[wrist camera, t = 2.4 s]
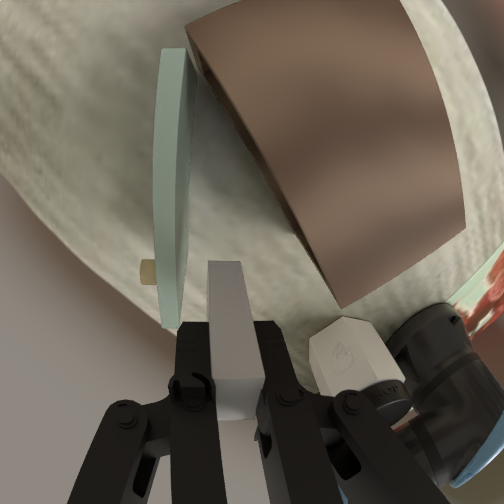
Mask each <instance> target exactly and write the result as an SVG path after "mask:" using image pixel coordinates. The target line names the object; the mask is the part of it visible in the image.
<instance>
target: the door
mask: <svg viewBox="0 0 504 504" xmlns="http://www.w3.org/2000/svg"><path fill="white" fill-rule="evenodd" d="M196 83H197V74H196V71H195V69H194V66H193V64H192V61H191V59H190V57H189V54H188V52H187V49H186V48H162V49H161V56H160V64H159V73H158V82H157V92H156V104H155V119H154V137H153V180H152V188H153V231H154V250H155V260H150V259H142V261H141V265H140V280H141V284H145V285H157V289H158V299H159V308H160V317H161V325H162V328H171V329H179V326H180V316H181V306H182V296H183V287H184V279H185V271H186V263H187V255H188V204H189V177H190V157H191V141H192V127H193V115H194V103H195V93H196Z"/></svg>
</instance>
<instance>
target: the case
mask: <svg viewBox="0 0 504 504" xmlns="http://www.w3.org/2000/svg"><path fill="white" fill-rule="evenodd" d="M184 27H185V30H186V33H187V36H188V39H189V42H190V45H191V48H192V52H193V55H194V58H195V61H196V64H197V66H198V68H199V70H200V71H201V73H202V74H203V76H204V77H205V79H206V80H207V82H208V84H209V85H210V87H211V88H212V90H213V92H214V93H215V95H216V96H217V98H218V100H219V101H220V103H221V104H222V106H223V108H224V109H225V111H226V113H227V114H228V116H229V118H230V119H231V121H232V123H233V124H234V126H235V128H236V129H237V131H238V133H239V134H240V136H241V138H242V139H243V141H244V143H245V144H246V146H247V148H248V150H249V151H250V153H251V155H252V157H253V158H254V160H255V162H256V163H257V165H258V167H259V169H260V171H261V172H262V174H263V176H264V178H265V179H266V181H267V183H268V185H269V187H270V188H271V190H272V192H273V194H274V196H275V197H276V199H277V201H278V203H279V205H280V207H281V208H282V210H283V212H284V214H285V216H286V218H287V220H288V221H289V223H290V225H291V227H292V229H293V231H294V233H295V235H296V236H297V238H298V239H299V241H300V243H301V244H302V246H303V247H304V249H305V251H306V252H307V254H308V255H309V257H310V259H311V260H312V262H313V263H314V265H315V267H316V268H317V270H318V271H319V273H320V275H321V276H322V278H323V280H324V281H325V283H326V285H327V286H328V288H329V289H330V291H331V293H332V294H333V296H334V298H335V300H336V301H337V303H338V305H339V306H340V308H341V309H342V308H344V307H346V306H348V305H349V304H351V303H353V302H355V301H356V300H358V299H360V298H362V297H363V296H365V295H367V294H368V293H370V292H372V291H373V290H375V289H377V288H378V287H380V286H382V285H383V284H385V283H386V282H388V281H390V280H391V279H393V278H394V277H396V276H398V275H399V274H401V273H402V272H404V271H405V270H407V269H408V268H410V267H411V266H413V265H414V264H416V263H417V262H419V261H420V260H422V259H423V258H425V257H426V256H428V255H429V254H431V253H432V252H434V251H435V250H436V249H438V248H439V247H441V246H442V245H443V244H445V243H446V242H448V241H449V240H450V239H452V238H453V237H454V236H456V235H457V234H458V233H460V232H461V231H462V230H464V229H465V228H466V223H465V210H464V200H463V192H462V184H461V177H460V171H459V165H458V159H457V154H456V149H455V144H454V140H453V135H452V131H451V127H450V123H449V119H448V116H447V112H446V109H445V105H444V102H443V99H442V96H441V92H440V89H439V86H438V84H437V81H436V78H435V75H434V72H433V70H432V67H431V65H430V62H429V60H428V57H427V55H426V52H425V50H424V48H423V45H422V43H421V41H420V39H419V37H418V35H417V32H416V30H415V28H414V26H413V24H412V22H411V20H410V19H409V17H408V15H407V13H406V11H405V9H404V7H403V6H402V4H401V2H400V0H241V1H239V2H236V3H234V4H231V5H229V6H226V7H224V8H222V9H219V10H217V11H215V12H213V13H210V14H208V15H206V16H204V17H202V18H200V19H198V20H196V21H194V22H192V23H190V24H188V25H186V26H184Z"/></svg>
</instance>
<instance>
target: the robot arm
mask: <svg viewBox="0 0 504 504" xmlns="http://www.w3.org/2000/svg"><path fill="white" fill-rule="evenodd" d="M385 346H386V347H387V349H388V350H389V352H390V354H391V355H392V357H393V358H394V360H395V362H396V363H397V365H398V367H399V368H400V370H401V372H402V373H403V375H404V377H405V381H404V385H405V387H406V389H407V391H408V392H409V394H410V396H411V398H412V399H413V405H412V407H413V408H414V410H415V412H416V414H417V416H416V417H415V418H413V419H411V420H409V421H408V422H406V423H404V424H403V425H401V426H399V427H397V428H396V429H394V430H392V428H391V427H390V426H389V424H388V423H387V422H386V421H385V419H384V418H383V417H382V416H381V414H380V413H379V412H378V410H377V409H376V408H375V407H374V405H373V404H372V403H371V401H370V400H369V399H368V398H367V397H366V396H365V395H364V394H363V393H361V392H359V391H357V390H351V389H347V390H343V391H341V392H339V393H338V394H337V395H336V396H335V397H332V396H325V395H318V394H314V393H311V392H309V391H307V390H306V389H305V388H304V387H302V386H301V385H300V384H299V382H298V380H297V378H296V375H295V372H294V369H293V365H292V362H291V359H290V356H289V353H288V350H287V346H286V343H285V341H284V337H283V334H282V331H281V329H280V328H279V326H278V325H277V324H276V323H275V322H274V321H253V319H252V314H251V310H250V305H249V300H248V296H247V291H246V286H245V282H244V277H243V272H242V267H241V263H240V261H208V278H207V322H183V323H182V324H181V326H180V327H179V329H178V330H177V343H176V356H175V374H174V375H173V376H172V378H171V379H170V381H169V384H168V389H169V395H168V396H167V397H166V398H164V399H163V400H161V401H158V402H155V403H150V404H146V405H141V404H139V403H137V402H135V401H132V400H120V401H116V402H115V403H113V404H111V405H110V406H109V408H108V409H107V410H106V412H105V415H104V417H103V419H102V421H101V423H100V425H99V428H98V430H97V432H96V434H95V436H94V439H93V441H92V443H91V446H90V448H89V450H88V453H87V455H86V457H85V460H84V462H83V464H82V467H81V469H80V472H79V474H78V476H77V479H76V482H75V484H74V487H73V489H72V492H71V495H70V497H69V500H68V503H67V504H147V501H148V497H149V494H150V490H151V487H152V483H153V480H154V477H155V473H156V470H157V467H158V463H159V460H160V457H161V456H165V455H170V459H171V460H170V461H171V462H170V463H171V492H172V493H171V495H172V504H227V498H226V491H225V483H224V475H223V467H222V460H221V450H220V440H219V431H218V421H226V420H227V421H228V420H247V419H255V415H257V420H258V426H257V430H256V433H255V437H254V441H257V440H258V443H259V448H260V453H261V459H262V464H263V469H264V474H265V479H266V484H267V489H268V494H269V499H270V504H450V503H449V501H448V500H447V499H446V497H445V496H444V495H443V494H442V492H441V491H440V490H439V488H440V487H442V486H444V485H446V484H447V483H449V482H450V486H452V487H453V488H457V487H459V486H461V485H462V484H464V483H465V482H467V481H468V480H469V479H470V478H472V477H473V476H474V475H475V474H477V473H478V472H479V471H480V470H482V469H483V468H484V467H485V466H486V465H487V464H488V463H489V462H490V461H491V460H493V458H495V457H496V456H497V455H498V454H499V453H500V451H501V450H502V449H503V448H504V389H503V388H502V386H501V385H500V383H499V382H498V381H497V380H496V378H495V377H494V375H493V374H492V372H491V371H490V370H489V368H488V367H487V366H486V365H485V363H484V362H483V361H482V360H481V358H480V357H479V356H478V354H477V353H476V352H475V350H474V349H473V346H472V343H471V340H470V338H469V335H468V332H467V329H466V327H465V324H464V322H463V319H462V317H461V316H460V314H459V313H458V312H457V311H456V310H455V309H454V308H453V307H452V306H451V305H449V304H438V305H434V306H432V307H429V308H427V309H425V310H423V311H422V312H420V313H418V314H417V315H416V316H414V317H413V318H411V319H410V320H409V321H408V322H406V323H405V324H404V325H403V326H402V327H401V328H400V329H399V330H398V331H397V332H396V333H395V334H394V335H393V336H392V337H391V339H390V340H389V341H388V342H387V344H386V345H385Z"/></svg>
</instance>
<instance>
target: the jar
mask: <svg viewBox="0 0 504 504" xmlns="http://www.w3.org/2000/svg"><path fill="white" fill-rule="evenodd" d="M309 364H310V366H311V369H312V372H313V375H314V377H315V380H316V383H317V386H318V388H319V391H320V394H321V395H325V396H332V397H335V396H336V395H337V394H338V393H339V392H341V391H343V390H347V389H351V390H357V391H359V392H361V393H363V394H364V395H365V396H366V397H367V398H368V399H369V400H370V401H371V403H372V404H373V405H374V407H375V408H376V409H377V410H378V412H379V413H380V414H381V416H382V417H383V418H384V419H385V421H386V422H387V423H388V424H389V426H390V427H391V426H392V425H394V424H395V423H397V422H398V421H399V420H400V419H401V418H403V417H404V416H405V415H406V414H407V413H408V412H409V410H410V409H411V407H412V405H413V399H412V398H411V396H410V394H409V392H408V391H407V389H406V387H405V385H404V381H405V377H404V375H403V373H402V372H401V370H400V368H399V367H398V365H397V363H396V362H395V360H394V358H393V357H392V355H391V354H390V352H389V350H388V349H387V347H386V346H385V344H384V342H383V341H382V339H381V338H380V336H379V335H378V333H377V331H376V330H375V328H374V327H373V325H372V324H371V322H368V321H363V320H358V319H353V318H349V317H344V316H342V317H341V318H339V319H338V320H336V321H335V322H333V323H332V324H330V325H329V326H327V327H326V328H324V329H323V330H321V331H320V332H318V333H317V334H315V335H313V336H312V337H310V339H309Z"/></svg>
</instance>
